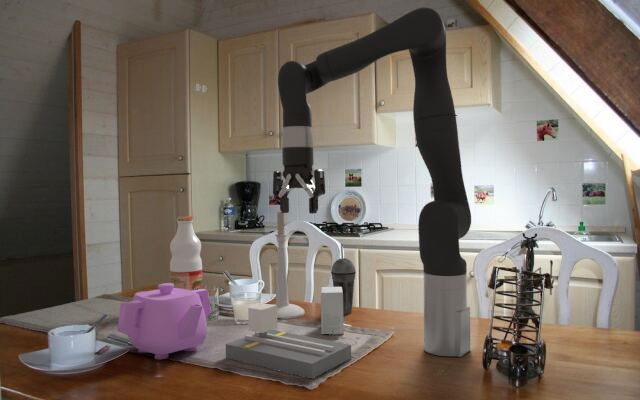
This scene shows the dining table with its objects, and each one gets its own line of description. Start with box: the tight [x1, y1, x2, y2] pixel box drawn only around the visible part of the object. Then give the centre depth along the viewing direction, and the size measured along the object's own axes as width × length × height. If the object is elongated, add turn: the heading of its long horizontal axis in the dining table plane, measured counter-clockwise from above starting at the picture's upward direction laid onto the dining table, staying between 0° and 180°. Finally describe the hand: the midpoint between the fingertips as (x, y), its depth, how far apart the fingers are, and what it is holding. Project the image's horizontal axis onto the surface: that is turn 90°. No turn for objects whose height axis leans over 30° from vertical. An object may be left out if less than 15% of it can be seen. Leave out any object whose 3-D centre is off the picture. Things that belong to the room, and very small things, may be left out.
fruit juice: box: [169, 215, 203, 291], centre depth 159 cm, size 9×9×28 cm
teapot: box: [116, 282, 212, 360], centre depth 120 cm, size 19×18×15 cm
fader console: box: [225, 329, 352, 379], centre depth 113 cm, size 23×14×4 cm, turn 55°
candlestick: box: [272, 210, 306, 320], centre depth 152 cm, size 13×13×30 cm
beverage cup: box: [330, 243, 357, 315], centre depth 153 cm, size 7×7×20 cm
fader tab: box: [247, 302, 278, 338], centre depth 116 cm, size 4×5×7 cm
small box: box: [320, 286, 345, 336], centre depth 134 cm, size 8×6×10 cm
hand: (298, 213), depth 129 cm, fingers open, 8 cm apart
